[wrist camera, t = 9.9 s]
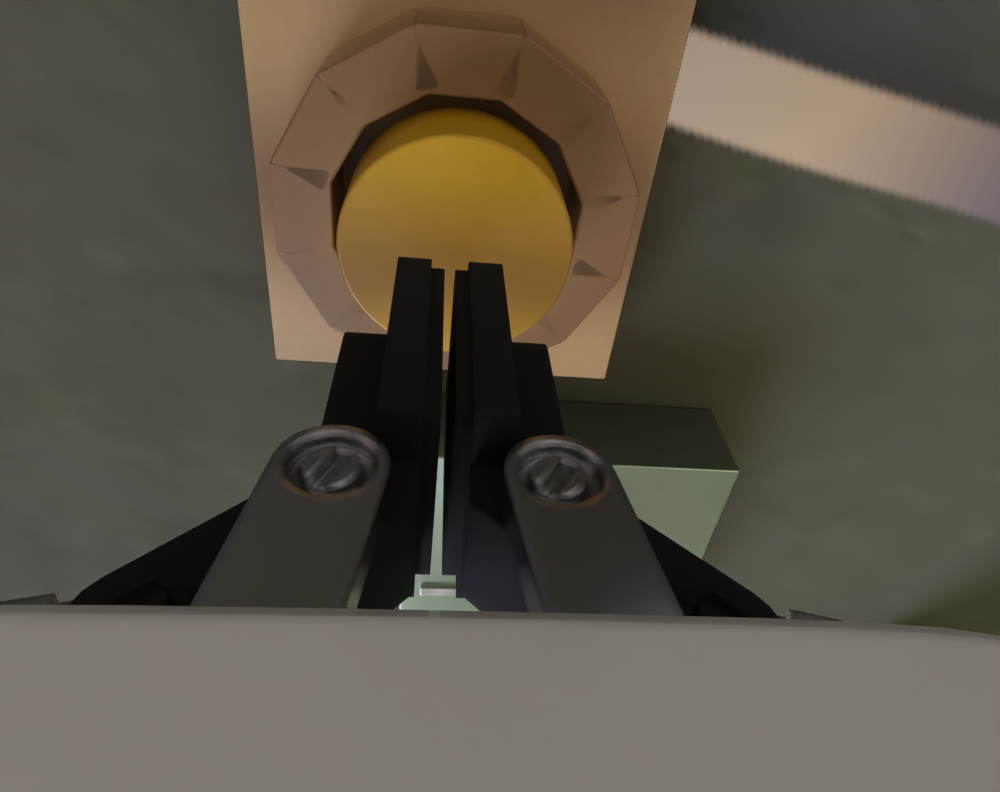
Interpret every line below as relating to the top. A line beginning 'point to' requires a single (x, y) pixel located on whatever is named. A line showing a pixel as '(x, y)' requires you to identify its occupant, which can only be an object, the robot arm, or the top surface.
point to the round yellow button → (456, 212)
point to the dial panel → (625, 479)
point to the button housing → (457, 84)
